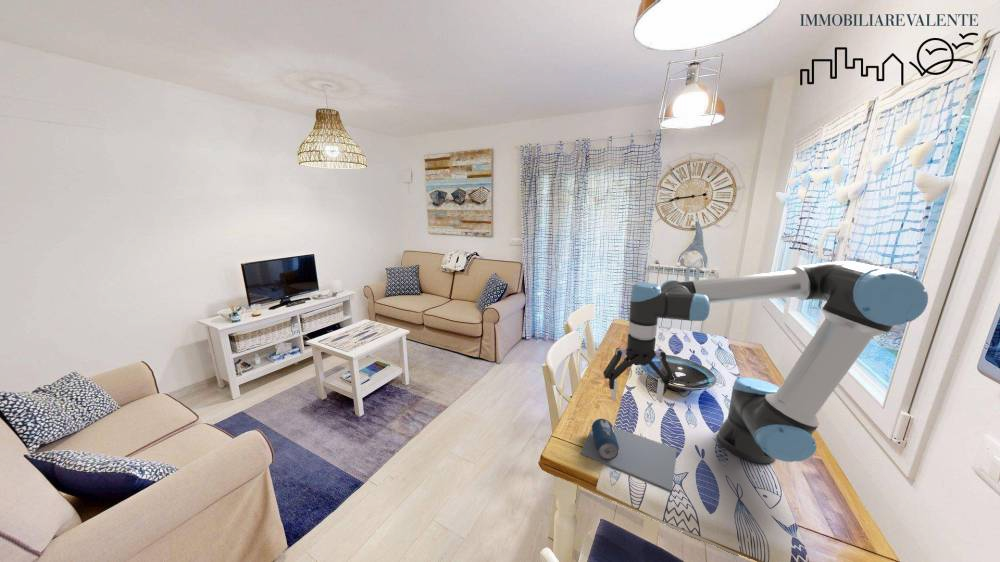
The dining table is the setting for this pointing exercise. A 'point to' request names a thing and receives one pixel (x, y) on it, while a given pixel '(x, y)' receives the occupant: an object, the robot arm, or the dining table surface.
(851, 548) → the dining table surface
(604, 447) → the soda can
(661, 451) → the mat
